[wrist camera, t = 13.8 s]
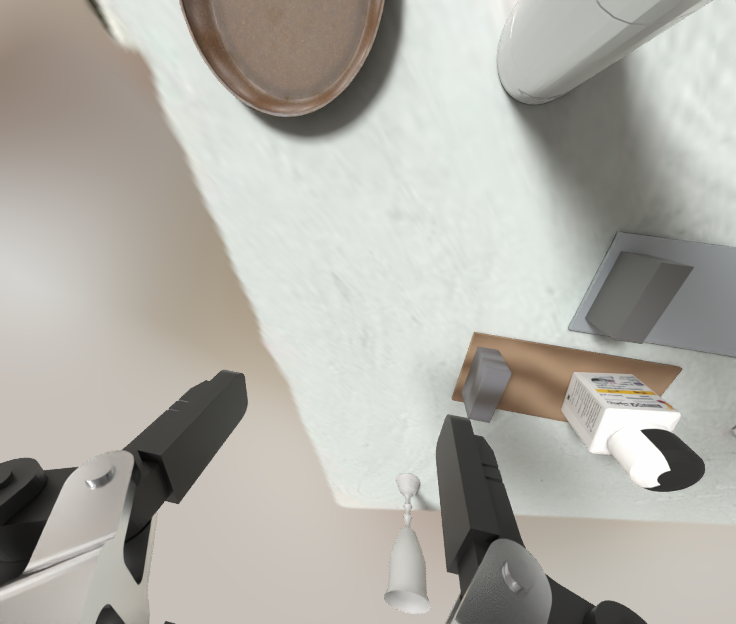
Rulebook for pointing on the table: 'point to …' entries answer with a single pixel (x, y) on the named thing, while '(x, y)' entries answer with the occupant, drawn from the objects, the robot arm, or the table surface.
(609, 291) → the grey board with block
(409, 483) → the chalice
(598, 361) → the brown board
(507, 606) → the robot arm
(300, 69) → the plant saucer
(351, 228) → the table surface
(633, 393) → the container
